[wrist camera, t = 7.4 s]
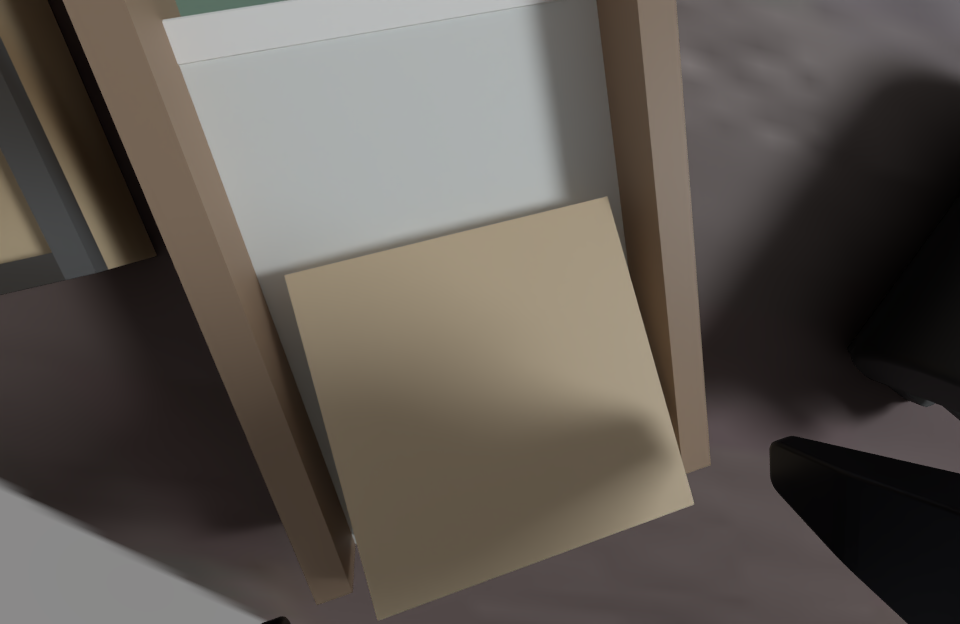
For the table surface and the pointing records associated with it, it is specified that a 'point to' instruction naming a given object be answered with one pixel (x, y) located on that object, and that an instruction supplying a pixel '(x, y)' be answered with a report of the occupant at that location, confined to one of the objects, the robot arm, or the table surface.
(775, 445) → the robot arm
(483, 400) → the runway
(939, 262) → the end cap
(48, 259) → the grey framed beige square
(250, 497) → the table surface
